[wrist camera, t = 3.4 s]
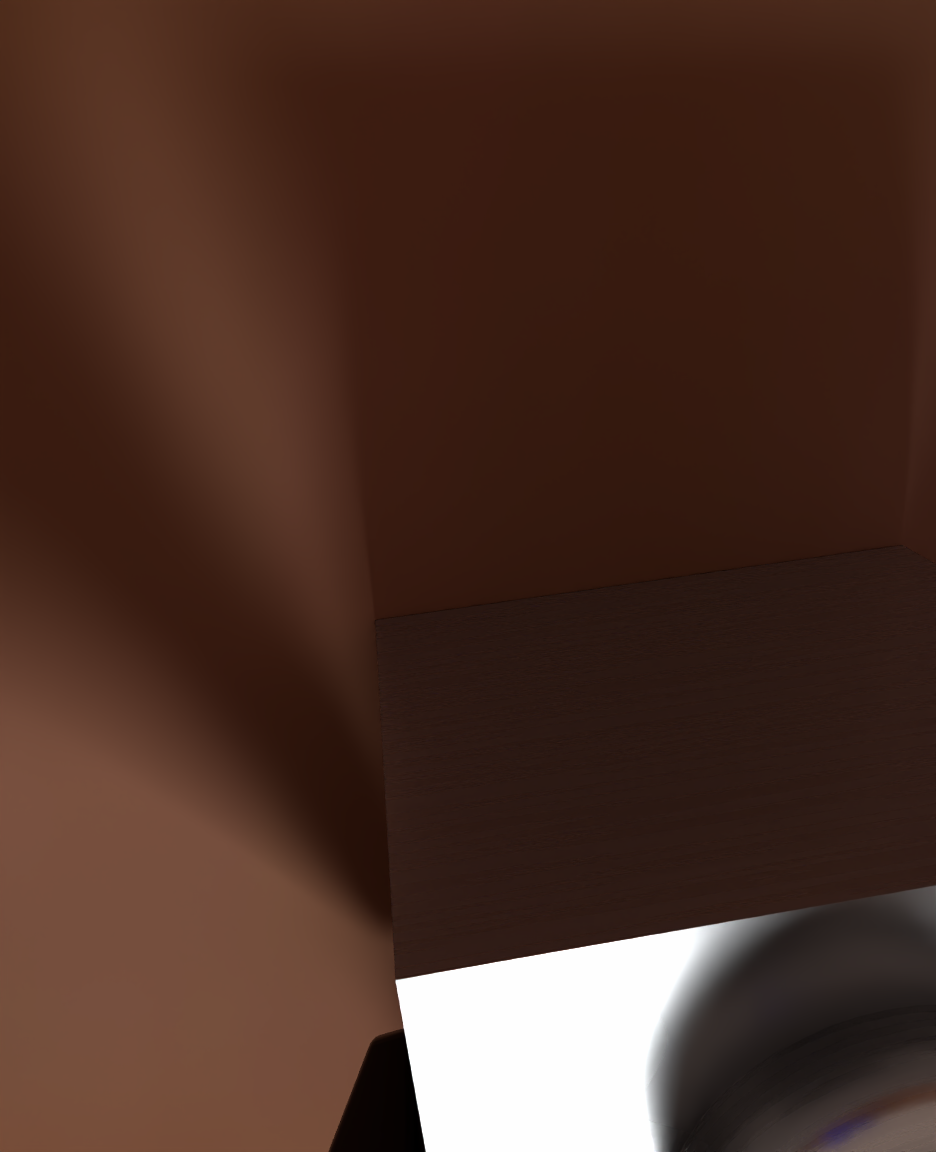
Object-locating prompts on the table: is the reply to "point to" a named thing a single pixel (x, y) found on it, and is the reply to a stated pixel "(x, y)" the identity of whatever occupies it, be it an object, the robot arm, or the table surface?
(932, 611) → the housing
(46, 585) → the table surface
